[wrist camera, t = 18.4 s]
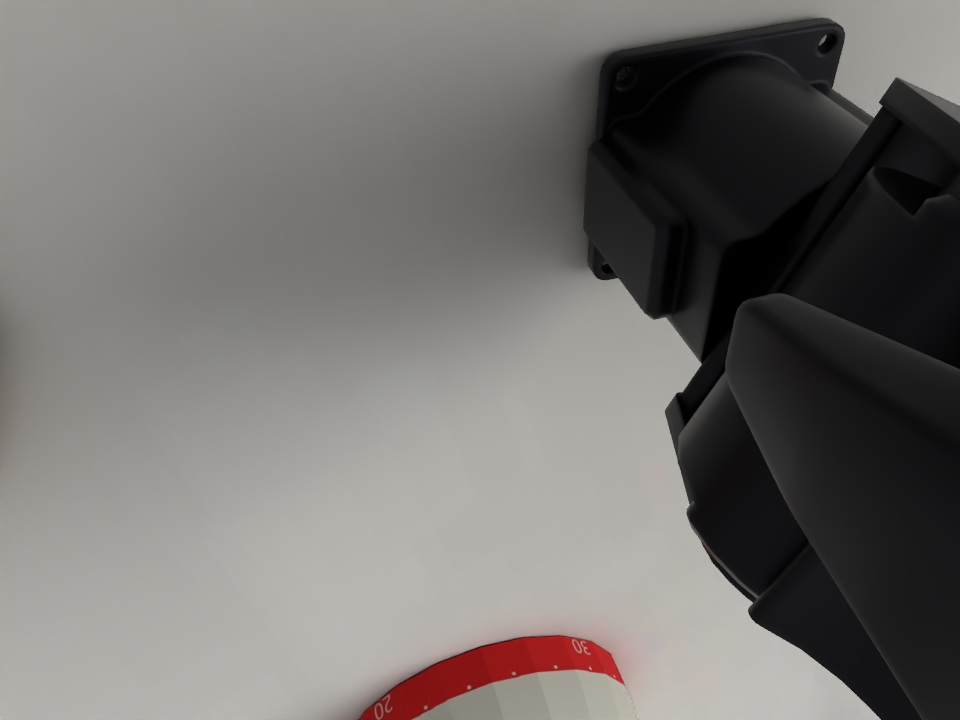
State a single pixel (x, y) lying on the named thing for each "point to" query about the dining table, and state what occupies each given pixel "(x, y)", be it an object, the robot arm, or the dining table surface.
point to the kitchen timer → (514, 685)
